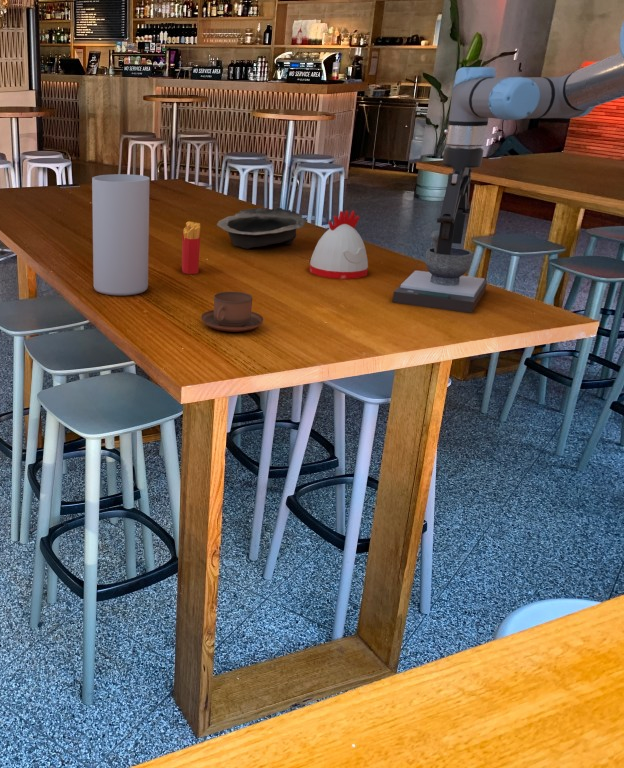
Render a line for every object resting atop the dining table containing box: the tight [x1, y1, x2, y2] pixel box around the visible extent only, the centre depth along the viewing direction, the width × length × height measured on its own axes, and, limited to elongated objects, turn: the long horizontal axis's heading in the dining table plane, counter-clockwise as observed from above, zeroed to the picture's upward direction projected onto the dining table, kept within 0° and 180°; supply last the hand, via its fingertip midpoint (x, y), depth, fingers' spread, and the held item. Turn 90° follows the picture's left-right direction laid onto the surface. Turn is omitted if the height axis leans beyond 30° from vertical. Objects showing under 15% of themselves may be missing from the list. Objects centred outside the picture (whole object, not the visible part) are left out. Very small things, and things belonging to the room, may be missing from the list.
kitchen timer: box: [309, 210, 369, 280], centre depth 194 cm, size 14×14×15 cm
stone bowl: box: [216, 207, 308, 250], centre depth 224 cm, size 25×25×9 cm
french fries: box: [181, 220, 201, 275], centre depth 195 cm, size 8×4×12 cm, turn 2°
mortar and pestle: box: [425, 229, 474, 286], centre depth 172 cm, size 11×9×12 cm
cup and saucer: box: [200, 291, 264, 333], centre depth 154 cm, size 12×12×6 cm
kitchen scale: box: [392, 270, 488, 314], centre depth 175 cm, size 20×16×3 cm
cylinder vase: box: [91, 173, 151, 297], centre depth 177 cm, size 12×12×25 cm
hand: (449, 248), depth 172 cm, fingers open, 13 cm apart
